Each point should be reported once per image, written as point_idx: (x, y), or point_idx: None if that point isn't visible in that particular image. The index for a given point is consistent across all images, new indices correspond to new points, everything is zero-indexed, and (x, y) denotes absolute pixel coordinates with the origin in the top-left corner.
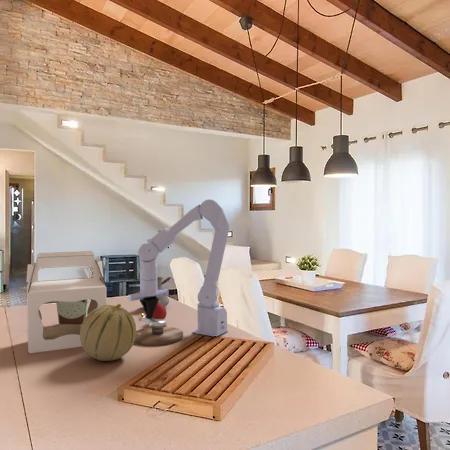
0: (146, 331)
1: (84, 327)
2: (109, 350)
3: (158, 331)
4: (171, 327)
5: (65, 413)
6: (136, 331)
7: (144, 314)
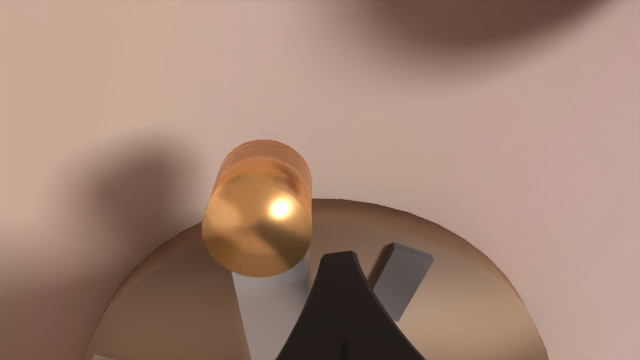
0: None
1: None
2: None
3: None
4: (530, 337)
5: None
6: (152, 290)
7: (302, 253)
